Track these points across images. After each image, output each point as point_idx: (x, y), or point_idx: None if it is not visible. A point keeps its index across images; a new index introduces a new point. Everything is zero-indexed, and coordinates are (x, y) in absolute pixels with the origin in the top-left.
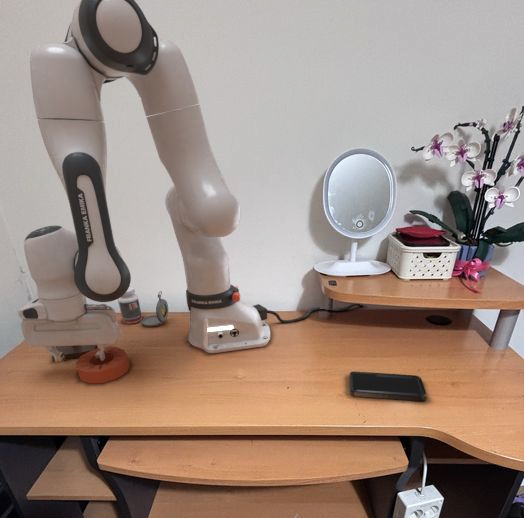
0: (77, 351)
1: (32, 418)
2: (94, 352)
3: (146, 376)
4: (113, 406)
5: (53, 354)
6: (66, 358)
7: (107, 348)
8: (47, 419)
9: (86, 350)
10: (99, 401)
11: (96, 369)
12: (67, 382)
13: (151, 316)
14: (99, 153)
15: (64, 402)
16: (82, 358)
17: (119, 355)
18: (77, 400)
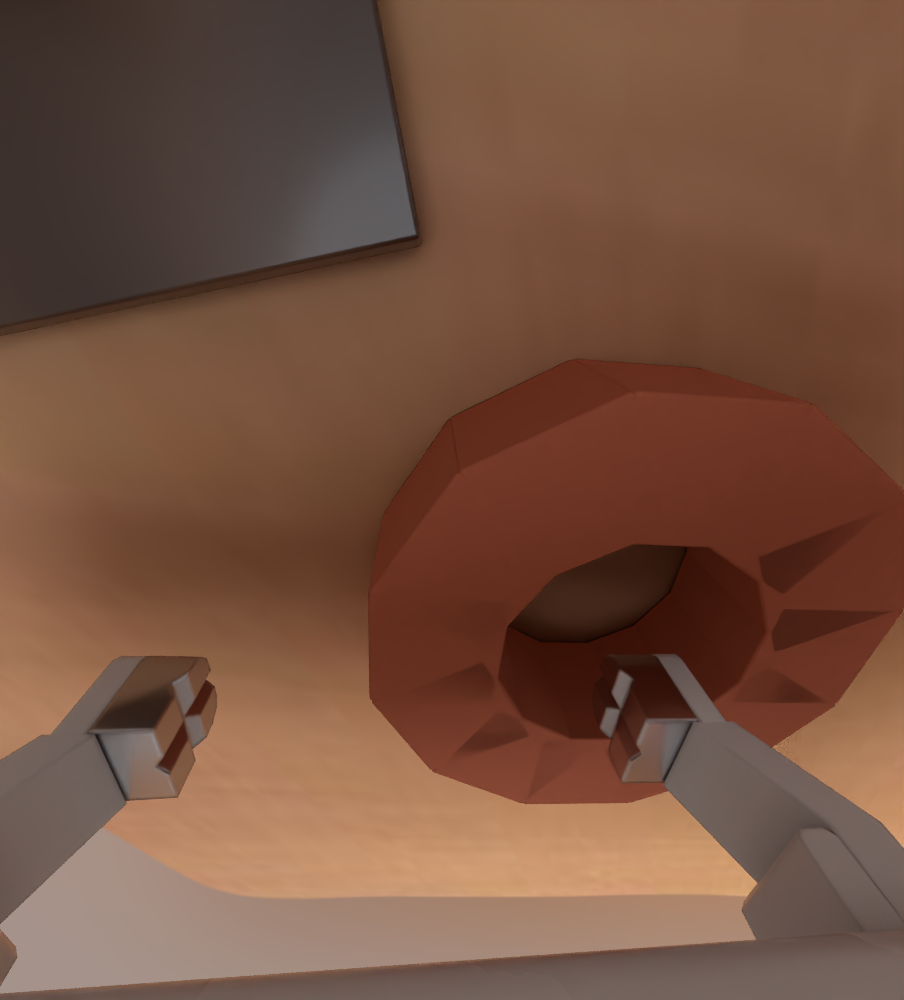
0: (161, 246)
1: (311, 873)
2: (524, 526)
3: (867, 661)
4: (656, 833)
5: (80, 837)
6: (72, 318)
7: (696, 442)
8: (384, 877)
9: (298, 234)
10: (588, 810)
11: (600, 785)
12: (337, 679)
13: None
14: None
15: (410, 811)
16: (412, 635)
17: (821, 621)
18: (474, 803)
